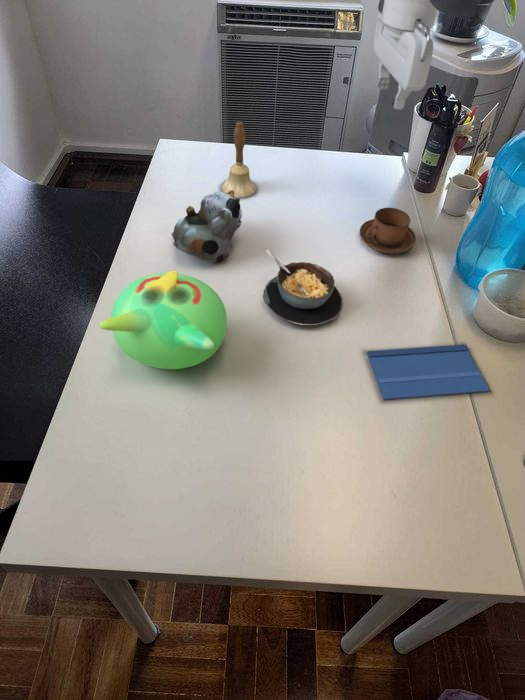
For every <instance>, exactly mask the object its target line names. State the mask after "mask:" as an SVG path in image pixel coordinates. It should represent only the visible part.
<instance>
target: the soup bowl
mask: <svg viewBox="0 0 525 700" xmlns="http://www.w3.org/2000/svg"><path fill="white" fill-rule="evenodd" d="M266 254H267V255H269V257H271V258H272V259H273V260H274V262H275V263H276V264H277V265H278V267H279V270H278V272H277V275H276V276H275V277H272V278H271V279H270V280H269V281H268V283H266V285H265V288H264V289H263V294H262V298H263V301H264V303H265V305H266V306H267V307H268V309H269V310H270V311H271V312H272V313H274V314H275V315H277V316H278V317H279V318H281V319H283V320H285V321H287V322H289V323H293V324H294V325H295V324H296V325H301V326H314V325H321V324H325V323H328V322H333V321H335V319H337V318H338V317H339V315H340V314H341V312H342V311H343V308H344V299H343V296H342V294H341V292H340V291H339V289H338V288H337V286H335V285H336V283H335V282H336V280H335V279H334V276H333V274H332V273H331V272H330V270H329V271H328V270H327V269H325V268H324V267H323V266H320V265H319V264H315V263H311V262H304V261H300V262H290V263H288V264H284V263H283V262H282V261H281V259H280V258H279V257H278V256H277V255H276V254H275V253H274V252H273V251H271V250H270V249H266Z"/></svg>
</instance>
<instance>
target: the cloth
mask: <svg viewBox="0 0 525 700" xmlns="http://www.w3.org/2000/svg"><path fill="white" fill-rule="evenodd" d="M469 350H470V349H469V347H468V345H467V344H451V345H437V346H424V347H423V346H421V347H410V348H407V347H406V348H395V349H394V348H393V349H379V350H368V351H366V355H367V357H368V360H369V363H370V366H371V368H372V372H373V374H374V377H375V380H376V382H377V385H378V388H379V391H380V394H381V397H382V399H383V401H391V400H403V399H414V398H415V399H416V398H417V399H418V398H428V397H429V398H430V397H440V396H441V397H442V396H454V395H462V394H463V395H465V394H476V393H478V394H479V393H488V392H490V391H491V390H490V388H489V387H488V385H487V382H486V381H485V379H484V377H483V375H482V372H481V371H480V370H479V367H478V366H477V364H476V362H475V360H474V359H473V357H472V355H471V353H470V351H469Z"/></svg>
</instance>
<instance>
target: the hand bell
mask: <svg viewBox="0 0 525 700" xmlns="http://www.w3.org/2000/svg"><path fill="white" fill-rule="evenodd" d="M235 124H236V125H235V128H234V131H233V143H234V147H235V163H233V164H232V165H231V166H230V167H229V174H228V178H227V179H226V181H224V182H223V183H222V186H221V190H222V192H225V193H228V192H229V191H231V190H233V191H234V199H236V198H239V199H245V198H249V197H252V196H253V195H254V194H256V191H257V186H256V184H255V183H254V182H253V181H252V179H251V176H250V168H249V166H247V164H244V147H245V144H246V131H245V127H244V124H243V121H240V120H239V121H236V123H235Z"/></svg>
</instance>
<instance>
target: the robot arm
mask: <svg viewBox="0 0 525 700" xmlns="http://www.w3.org/2000/svg"><path fill="white" fill-rule="evenodd" d="M482 2H483V0H378V2H377V5H376V10H377V12H378V14H377V17H376V18H377V19H376V23H375V29H374V36H373V43H372V45H373V46H372V49H373V54H374V55H375V57H376V58H377V59H378V60H379V64H378V81H377V86H378V88H379V89H380V90H388V89H389V85H390V81H391V79H390V75H391V76H392V78H393V79H394V80H395V81H396V82H397V84H398V86H397V90H398V91H397V93H396V95H394V96H393V101H392V103H391V104H392V108H394V110H403V109H404V108H405V103H406V100H407V99H408V97H409V96H410V95H411V94H412V92H419V91H422V90H423V89H424V88H425V86H426V84H427V81H428V76H429V72H430V68H431V64H432V59H433V54H434V41H433V40H432V38H431V30H432V29H433V27H434V26H435V22H436V18H437V14H438V12H440V13H442V14H443V15H444V14H445V15H448V16H458V15H462V14H466V13H468V12H470V11H472V10H473V9H475V8H476V7H477V6H479V4H481V3H482Z"/></svg>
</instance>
